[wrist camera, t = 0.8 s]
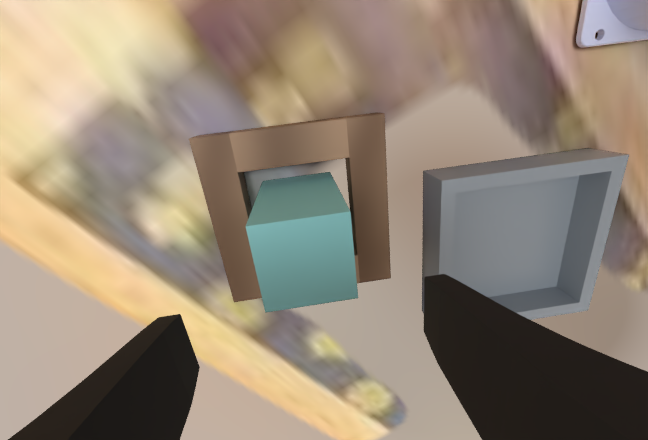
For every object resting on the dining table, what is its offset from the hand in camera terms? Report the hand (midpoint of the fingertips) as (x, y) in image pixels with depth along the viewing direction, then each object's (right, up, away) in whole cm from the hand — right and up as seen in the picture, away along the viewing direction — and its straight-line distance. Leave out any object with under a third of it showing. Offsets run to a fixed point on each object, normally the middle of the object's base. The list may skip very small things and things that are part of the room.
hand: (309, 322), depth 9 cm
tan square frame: (-1, +4, +10) cm, 10 cm away
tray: (+12, +2, +12) cm, 17 cm away
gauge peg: (-1, +4, +10) cm, 10 cm away
